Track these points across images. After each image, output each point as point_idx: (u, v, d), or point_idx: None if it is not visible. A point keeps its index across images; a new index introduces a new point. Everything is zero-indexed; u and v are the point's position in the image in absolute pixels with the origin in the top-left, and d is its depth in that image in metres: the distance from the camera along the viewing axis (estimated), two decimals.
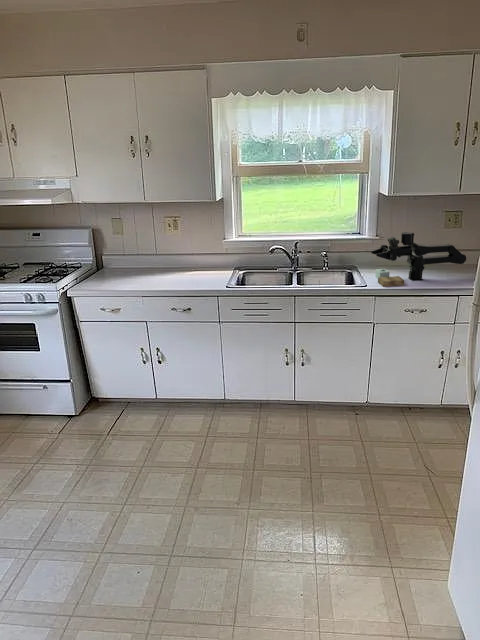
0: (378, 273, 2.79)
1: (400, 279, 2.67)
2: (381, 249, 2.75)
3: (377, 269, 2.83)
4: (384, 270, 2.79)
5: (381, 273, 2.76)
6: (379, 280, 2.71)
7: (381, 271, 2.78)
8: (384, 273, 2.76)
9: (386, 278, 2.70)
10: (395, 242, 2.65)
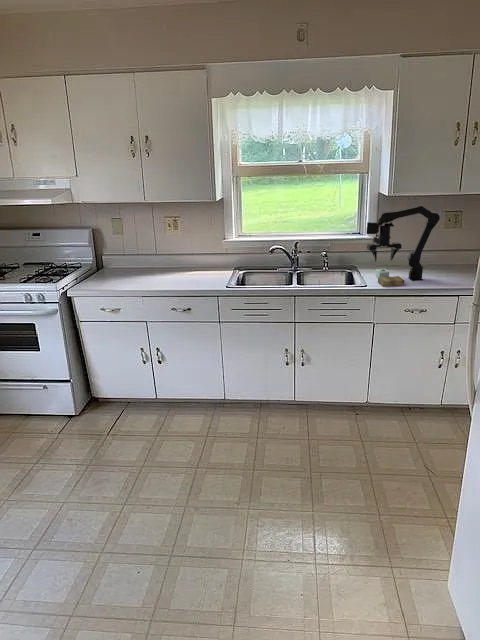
0: (378, 273, 2.79)
1: (400, 279, 2.67)
2: (391, 249, 2.77)
3: (377, 269, 2.83)
4: (384, 270, 2.79)
5: (381, 273, 2.76)
6: (379, 280, 2.71)
7: (381, 271, 2.78)
8: (384, 273, 2.76)
9: (386, 278, 2.70)
10: (373, 241, 2.79)
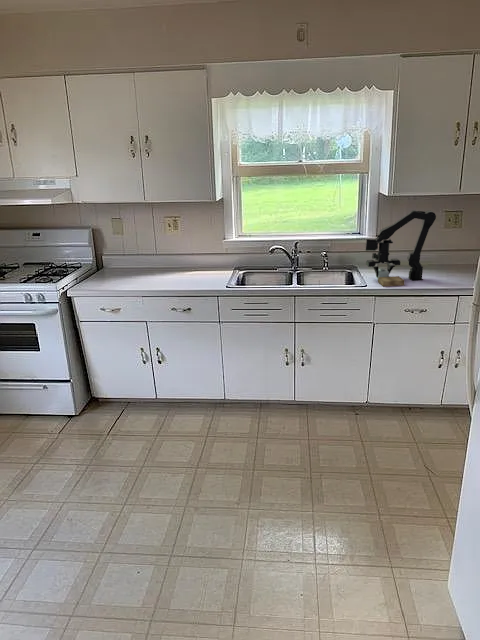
0: (378, 273, 2.79)
1: (400, 279, 2.67)
2: (387, 266, 2.80)
3: None
4: (384, 270, 2.79)
5: (380, 273, 2.76)
6: (379, 280, 2.71)
7: (381, 271, 2.78)
8: (384, 273, 2.76)
9: (386, 278, 2.70)
10: (372, 257, 2.83)
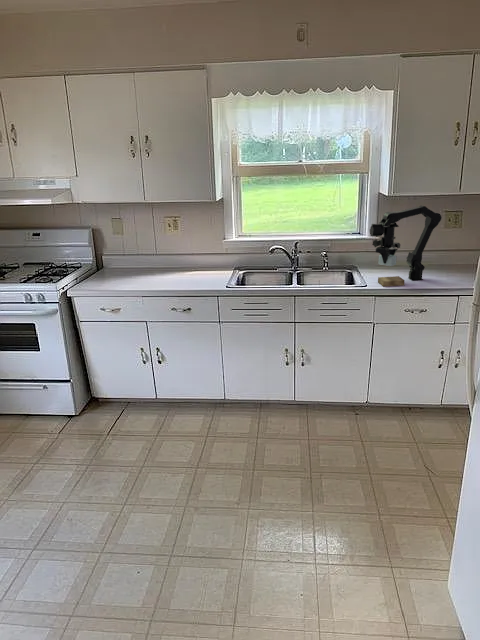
0: None
1: (400, 279, 2.67)
2: (388, 250, 2.73)
3: (380, 255, 2.72)
4: (389, 255, 2.71)
5: (392, 258, 2.67)
6: (379, 280, 2.71)
7: (389, 256, 2.69)
8: (393, 257, 2.68)
9: (386, 278, 2.70)
10: (374, 243, 2.70)
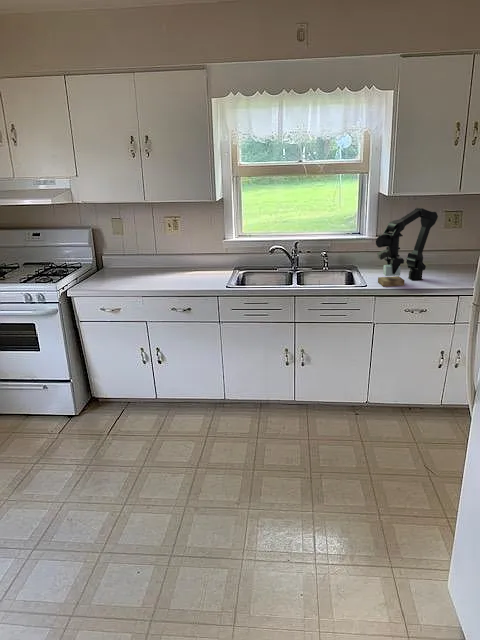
0: None
1: (400, 279, 2.67)
2: (388, 260, 2.69)
3: (387, 266, 2.65)
4: None
5: None
6: (379, 280, 2.71)
7: None
8: None
9: (386, 278, 2.70)
10: (384, 256, 2.60)
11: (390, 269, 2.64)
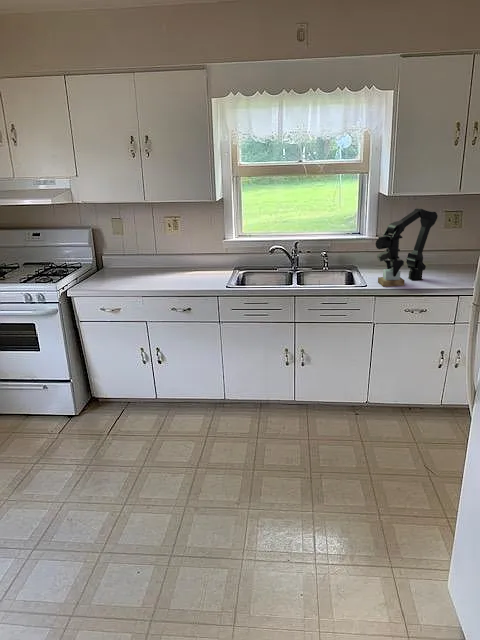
0: None
1: (400, 279, 2.67)
2: (387, 262, 2.70)
3: (387, 271, 2.65)
4: (392, 269, 2.68)
5: None
6: (379, 280, 2.71)
7: None
8: None
9: None
10: (384, 257, 2.60)
11: (390, 273, 2.65)
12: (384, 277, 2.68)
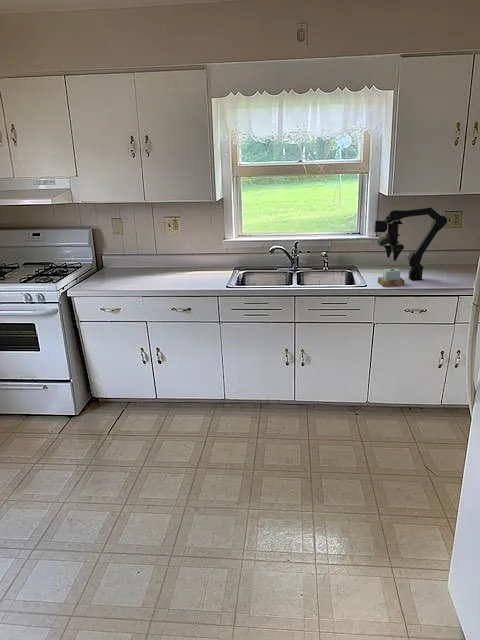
0: (395, 273, 2.65)
1: (400, 279, 2.67)
2: (386, 247, 2.78)
3: (387, 271, 2.65)
4: (392, 269, 2.68)
5: None
6: (379, 280, 2.71)
7: (395, 270, 2.66)
8: None
9: None
10: (384, 242, 2.67)
11: (390, 273, 2.65)
12: (384, 277, 2.68)
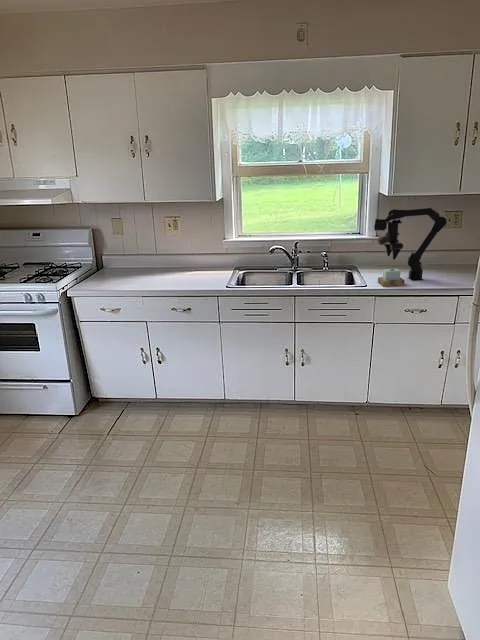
0: (395, 273, 2.65)
1: (400, 279, 2.67)
2: (387, 245, 2.81)
3: (387, 271, 2.65)
4: (392, 269, 2.68)
5: None
6: (379, 280, 2.71)
7: (395, 270, 2.66)
8: None
9: None
10: (384, 241, 2.70)
11: (390, 273, 2.65)
12: (384, 277, 2.68)
